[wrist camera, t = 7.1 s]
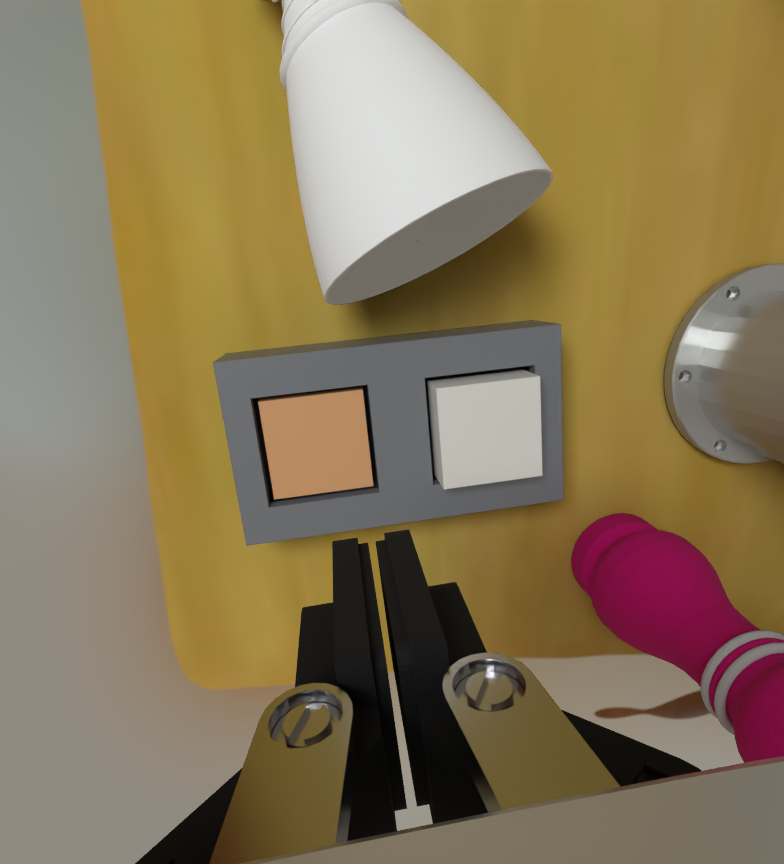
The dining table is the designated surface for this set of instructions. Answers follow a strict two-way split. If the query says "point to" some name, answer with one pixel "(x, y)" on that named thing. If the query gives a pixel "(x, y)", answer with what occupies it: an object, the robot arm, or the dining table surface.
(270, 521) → the key panel
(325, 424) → the orange key
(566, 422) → the dining table surface
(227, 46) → the dining table surface
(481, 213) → the rocket engine
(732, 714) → the pepper mill
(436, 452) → the white key
